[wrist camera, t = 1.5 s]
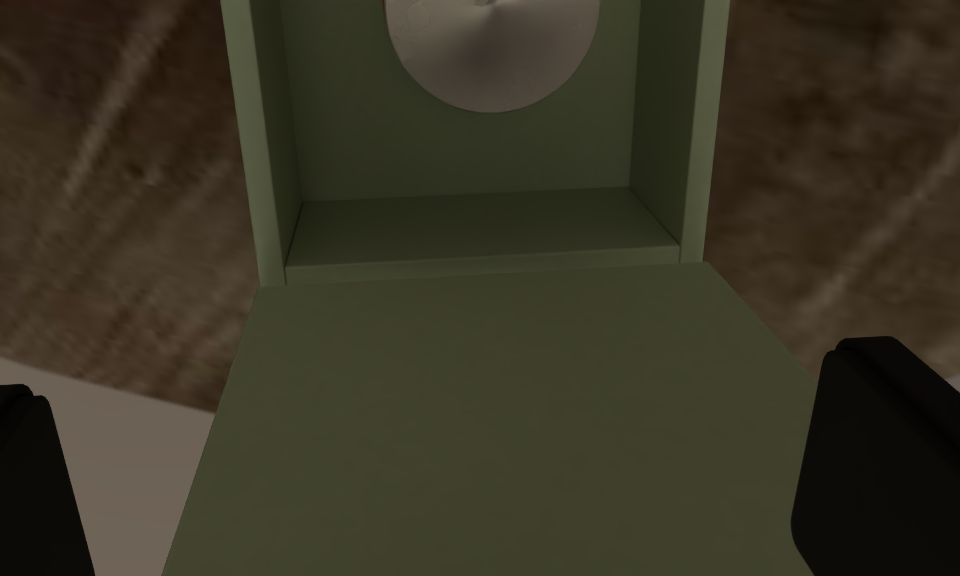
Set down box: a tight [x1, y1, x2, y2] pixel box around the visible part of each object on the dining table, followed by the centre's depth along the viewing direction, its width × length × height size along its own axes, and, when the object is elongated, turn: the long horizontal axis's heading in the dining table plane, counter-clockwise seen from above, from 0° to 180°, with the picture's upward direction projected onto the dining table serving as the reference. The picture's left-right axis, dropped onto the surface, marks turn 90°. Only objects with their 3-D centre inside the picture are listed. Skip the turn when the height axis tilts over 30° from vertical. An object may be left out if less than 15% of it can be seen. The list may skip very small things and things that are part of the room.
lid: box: [161, 262, 818, 576], centre depth 20 cm, size 16×15×5 cm
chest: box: [220, 0, 730, 287], centre depth 27 cm, size 16×15×7 cm
